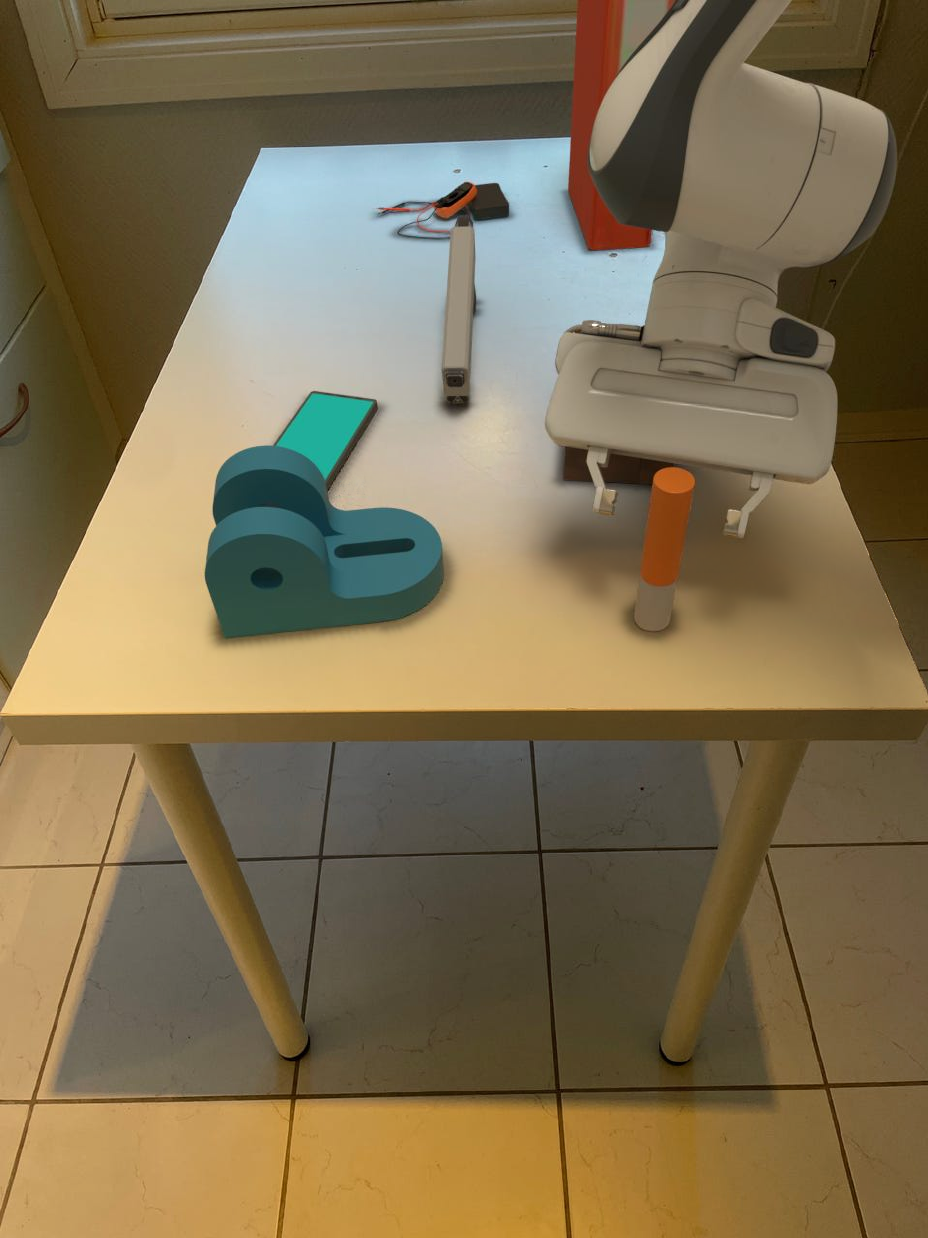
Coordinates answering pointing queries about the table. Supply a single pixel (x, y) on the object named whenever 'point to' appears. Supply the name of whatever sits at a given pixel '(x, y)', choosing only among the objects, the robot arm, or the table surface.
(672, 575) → the orange cylinder rod
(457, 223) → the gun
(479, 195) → the multimeter
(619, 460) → the pen stand
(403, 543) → the camera mount
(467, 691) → the table surface
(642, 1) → the file binder
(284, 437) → the smartphone
